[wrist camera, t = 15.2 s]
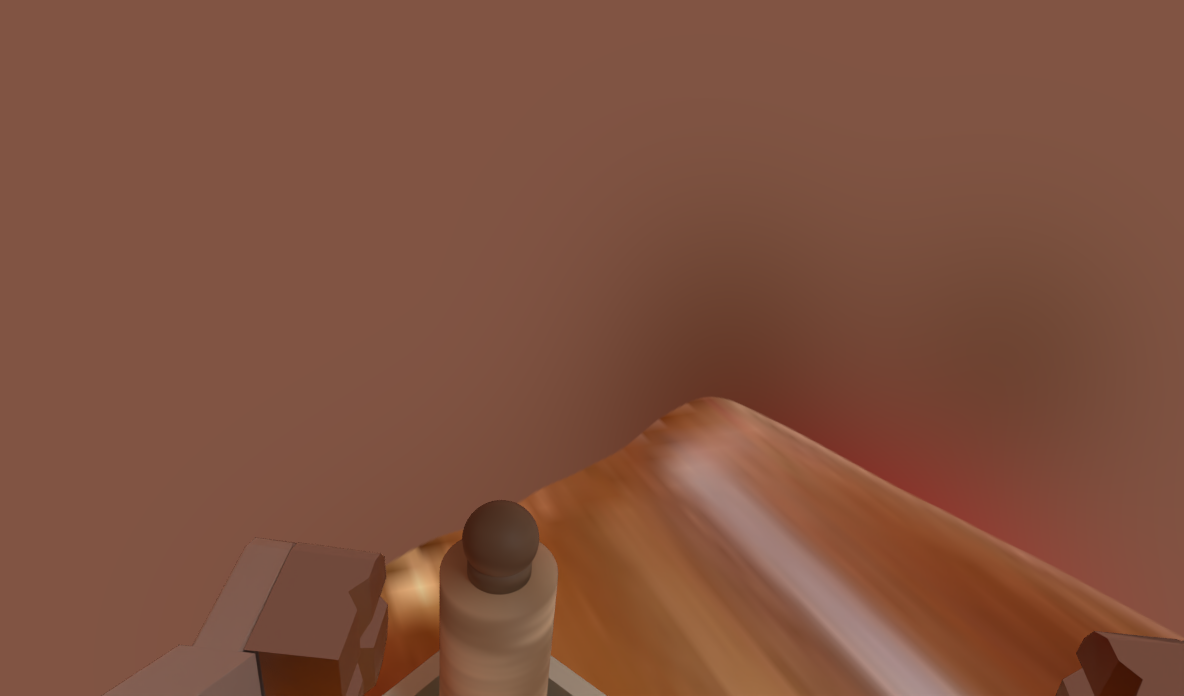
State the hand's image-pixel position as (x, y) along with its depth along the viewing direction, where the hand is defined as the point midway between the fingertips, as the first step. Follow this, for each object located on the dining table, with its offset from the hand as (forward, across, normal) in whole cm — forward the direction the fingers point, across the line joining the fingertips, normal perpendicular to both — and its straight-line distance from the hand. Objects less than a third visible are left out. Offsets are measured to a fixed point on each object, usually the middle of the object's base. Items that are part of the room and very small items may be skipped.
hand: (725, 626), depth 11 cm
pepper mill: (+18, +5, +31) cm, 36 cm away
